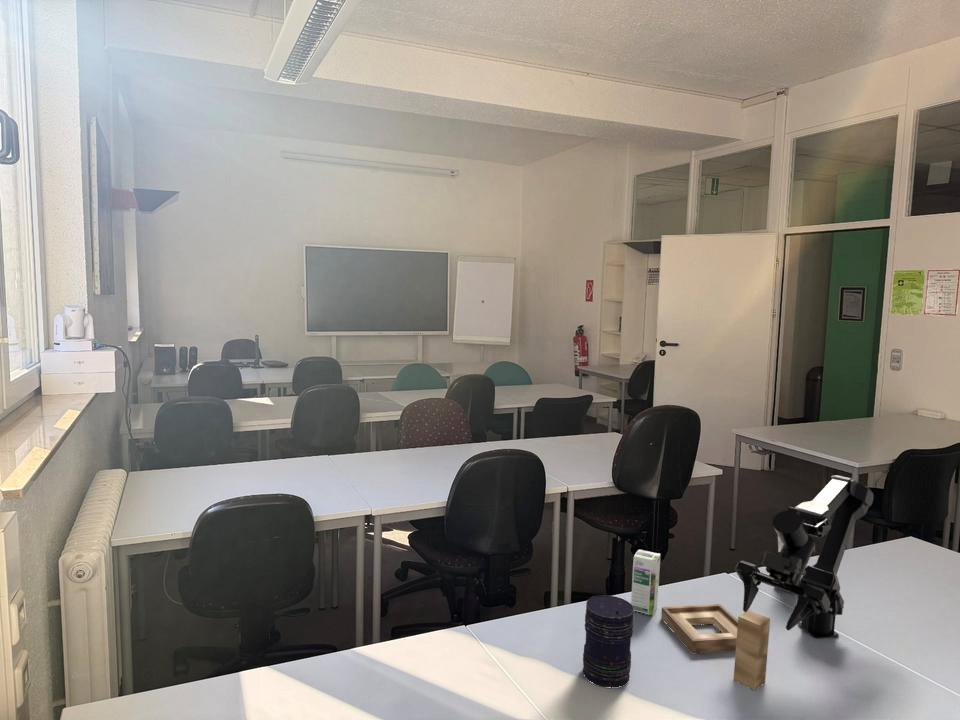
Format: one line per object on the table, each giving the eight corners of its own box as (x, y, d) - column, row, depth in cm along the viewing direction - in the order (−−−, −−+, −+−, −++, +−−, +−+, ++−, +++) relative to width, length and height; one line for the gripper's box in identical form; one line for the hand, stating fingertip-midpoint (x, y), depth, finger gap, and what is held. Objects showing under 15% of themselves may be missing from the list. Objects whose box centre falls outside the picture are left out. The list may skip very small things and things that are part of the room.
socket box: (719, 615, 161) (720, 604, 161) (755, 649, 146) (756, 636, 145) (661, 618, 158) (661, 607, 158) (692, 653, 143) (693, 641, 143)
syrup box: (629, 611, 162) (632, 555, 160) (635, 601, 167) (638, 547, 166) (652, 617, 159) (656, 560, 158) (657, 607, 164) (661, 552, 163)
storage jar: (573, 665, 137) (577, 598, 136) (613, 657, 141) (617, 592, 139) (598, 692, 128) (602, 621, 126) (639, 683, 131) (644, 614, 130)
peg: (744, 672, 136) (749, 609, 135) (765, 683, 133) (770, 618, 132) (733, 680, 134) (738, 616, 132) (754, 691, 130) (759, 625, 129)
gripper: (742, 525, 144) (712, 584, 138) (829, 552, 130) (800, 620, 124) (756, 551, 150) (728, 609, 144) (841, 579, 136) (814, 646, 130)
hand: (765, 620), depth 135 cm, fingers open, 9 cm apart
